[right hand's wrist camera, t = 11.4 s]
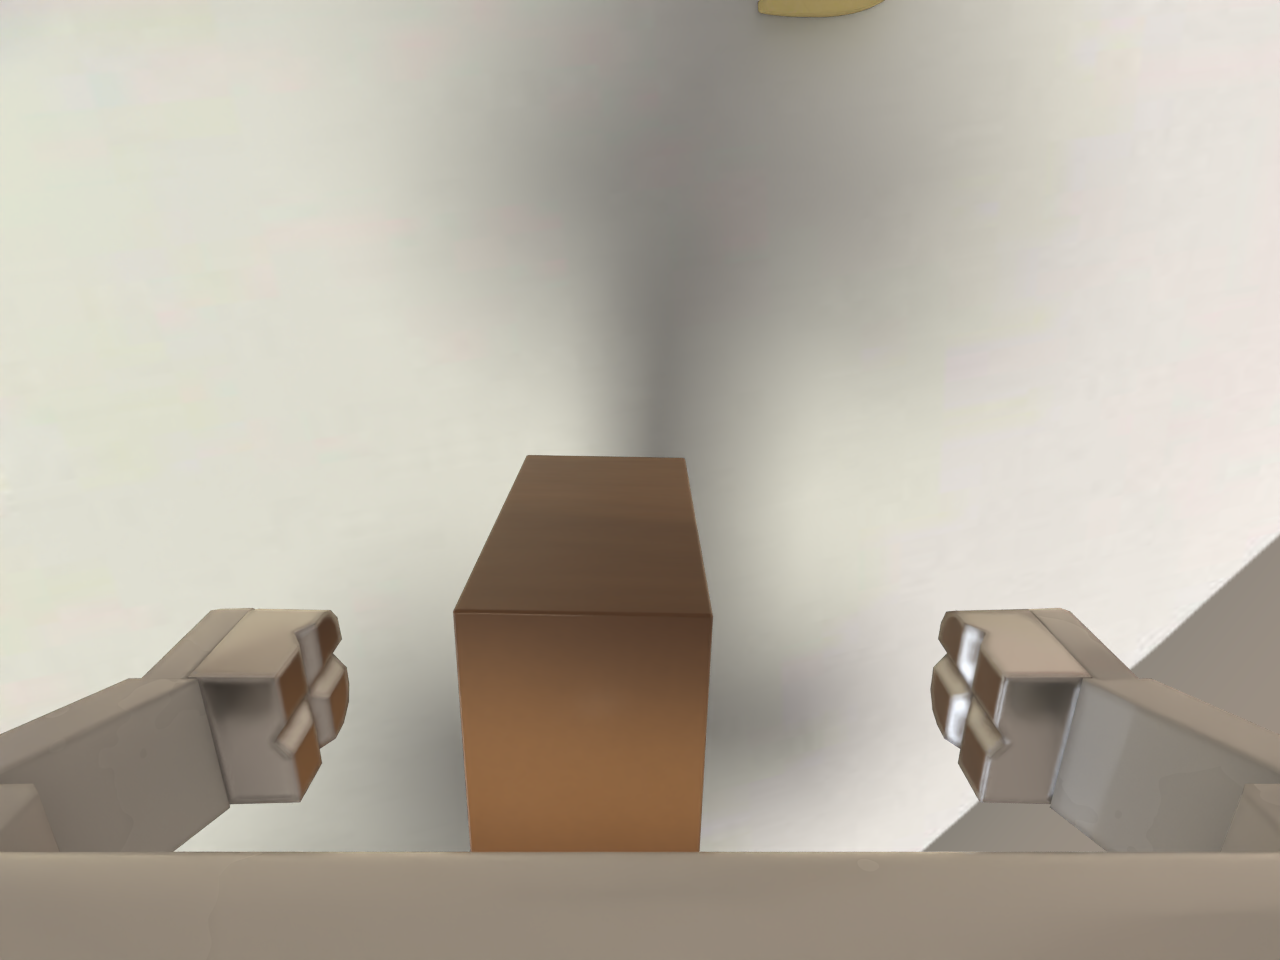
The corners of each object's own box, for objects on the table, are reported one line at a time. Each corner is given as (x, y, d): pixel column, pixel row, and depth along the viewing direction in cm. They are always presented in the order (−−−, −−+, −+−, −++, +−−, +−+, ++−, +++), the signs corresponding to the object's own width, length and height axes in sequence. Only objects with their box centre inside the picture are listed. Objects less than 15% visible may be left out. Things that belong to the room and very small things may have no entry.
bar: (526, 454, 21) (452, 610, 13) (685, 457, 21) (713, 614, 13) (546, 1059, 29) (508, 1392, 21) (660, 1060, 29) (668, 1394, 21)
